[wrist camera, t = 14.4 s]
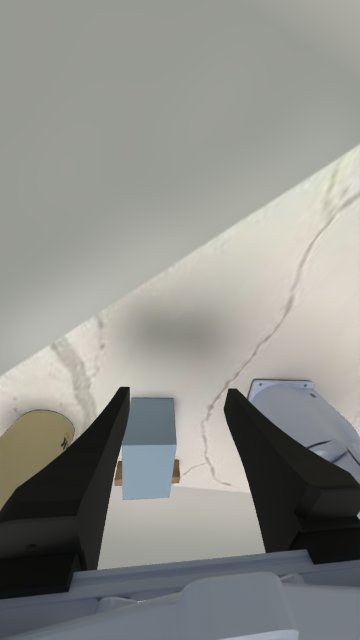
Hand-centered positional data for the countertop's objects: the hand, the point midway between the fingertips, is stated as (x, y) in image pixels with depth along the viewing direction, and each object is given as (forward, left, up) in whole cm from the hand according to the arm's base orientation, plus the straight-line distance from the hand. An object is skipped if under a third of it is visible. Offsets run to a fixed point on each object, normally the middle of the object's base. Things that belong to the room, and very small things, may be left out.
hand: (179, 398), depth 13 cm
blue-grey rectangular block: (+2, +15, -10) cm, 18 cm away
